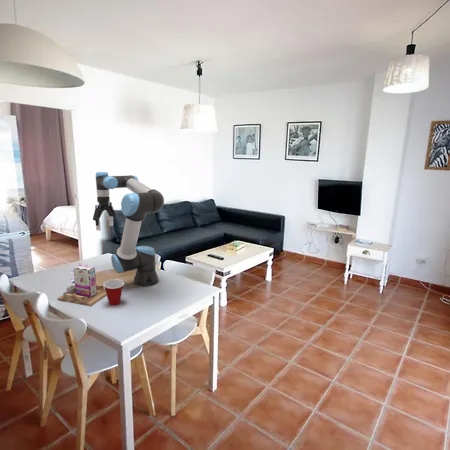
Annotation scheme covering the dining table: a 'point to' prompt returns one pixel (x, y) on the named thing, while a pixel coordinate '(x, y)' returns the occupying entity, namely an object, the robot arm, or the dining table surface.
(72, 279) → the water lily
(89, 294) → the candy bar box
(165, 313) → the dining table surface
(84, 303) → the board
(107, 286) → the plastic cup
